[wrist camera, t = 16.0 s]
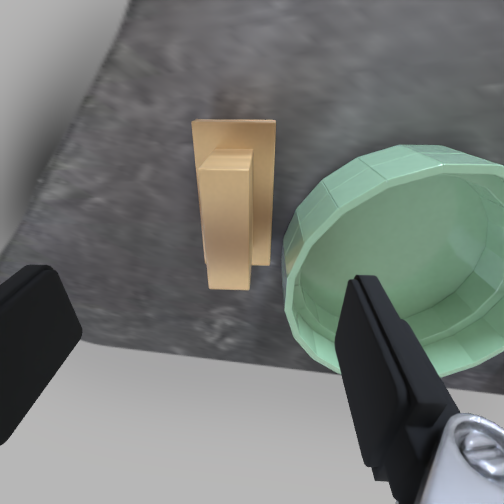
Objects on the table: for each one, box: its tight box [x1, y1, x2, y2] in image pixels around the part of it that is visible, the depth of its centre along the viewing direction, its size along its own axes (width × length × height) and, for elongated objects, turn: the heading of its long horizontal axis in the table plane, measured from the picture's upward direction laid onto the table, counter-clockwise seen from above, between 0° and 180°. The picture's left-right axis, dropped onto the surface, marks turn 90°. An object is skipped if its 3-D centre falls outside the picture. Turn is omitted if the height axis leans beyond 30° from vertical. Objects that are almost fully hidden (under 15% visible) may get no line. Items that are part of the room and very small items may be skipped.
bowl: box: [281, 145, 504, 378], centre depth 21 cm, size 17×17×6 cm
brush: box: [191, 119, 276, 290], centre depth 18 cm, size 10×5×8 cm, turn 0°
